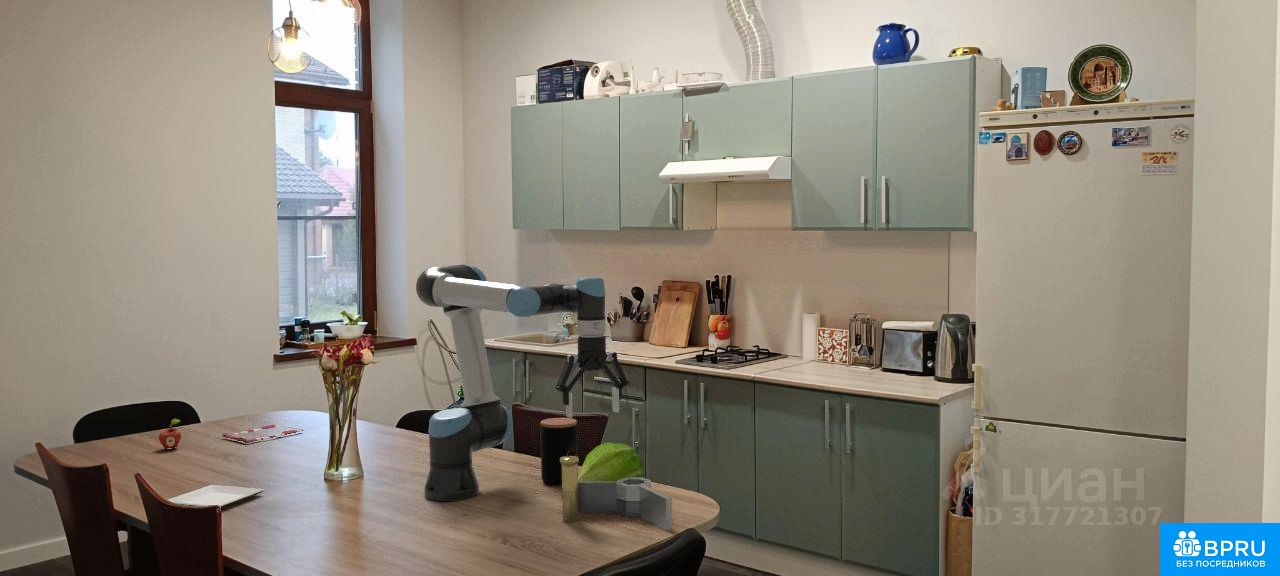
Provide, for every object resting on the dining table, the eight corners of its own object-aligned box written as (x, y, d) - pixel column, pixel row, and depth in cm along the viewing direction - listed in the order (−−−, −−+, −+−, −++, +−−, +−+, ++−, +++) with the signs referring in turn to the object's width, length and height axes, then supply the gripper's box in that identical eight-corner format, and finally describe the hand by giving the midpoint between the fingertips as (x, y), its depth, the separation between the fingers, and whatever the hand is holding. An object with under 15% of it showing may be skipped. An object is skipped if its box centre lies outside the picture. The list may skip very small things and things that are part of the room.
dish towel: (220, 440, 357) (220, 433, 357) (279, 429, 376) (278, 422, 376) (246, 446, 347) (246, 438, 347) (305, 434, 366) (304, 427, 365)
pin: (560, 523, 250) (558, 460, 249) (562, 517, 255) (561, 456, 254) (579, 523, 250) (577, 460, 249) (580, 517, 255) (579, 456, 254)
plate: (265, 496, 281) (264, 488, 281) (217, 514, 263) (216, 506, 263) (212, 491, 287) (211, 484, 287) (161, 508, 269) (161, 501, 269)
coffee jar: (572, 487, 285) (571, 425, 283) (536, 485, 287) (535, 424, 286) (582, 478, 295) (581, 418, 294) (547, 476, 297) (546, 417, 296)
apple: (175, 451, 338) (174, 422, 338) (155, 451, 338) (154, 422, 338) (186, 446, 346) (184, 417, 345) (166, 446, 346) (165, 418, 346)
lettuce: (604, 515, 265) (568, 511, 276) (660, 481, 280) (625, 478, 291) (589, 463, 263) (554, 462, 274) (647, 432, 278) (611, 431, 289)
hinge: (556, 531, 244) (556, 499, 243) (565, 507, 264) (565, 477, 264) (672, 531, 243) (671, 498, 242) (672, 507, 263) (671, 477, 263)
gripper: (553, 339, 255) (554, 421, 256) (639, 333, 266) (640, 412, 268) (542, 337, 262) (544, 416, 263) (627, 331, 273) (628, 407, 274)
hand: (592, 414), depth 265 cm, fingers open, 13 cm apart
